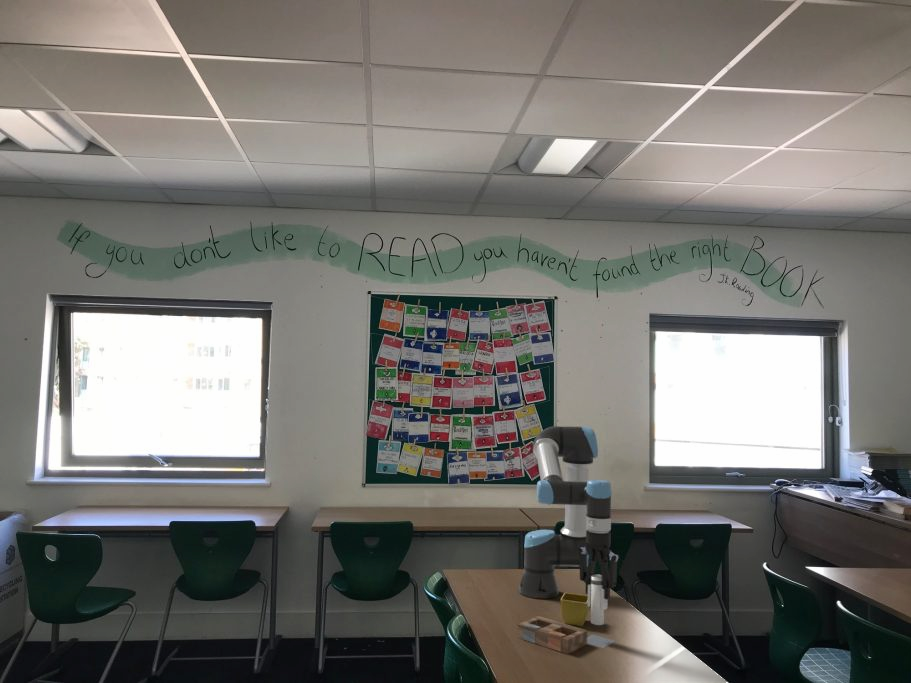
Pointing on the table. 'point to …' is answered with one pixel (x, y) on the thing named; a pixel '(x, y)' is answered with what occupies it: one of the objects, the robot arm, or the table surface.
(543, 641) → the socket block
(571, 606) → the flower pot
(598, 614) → the plug
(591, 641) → the mat
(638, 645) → the table surface
